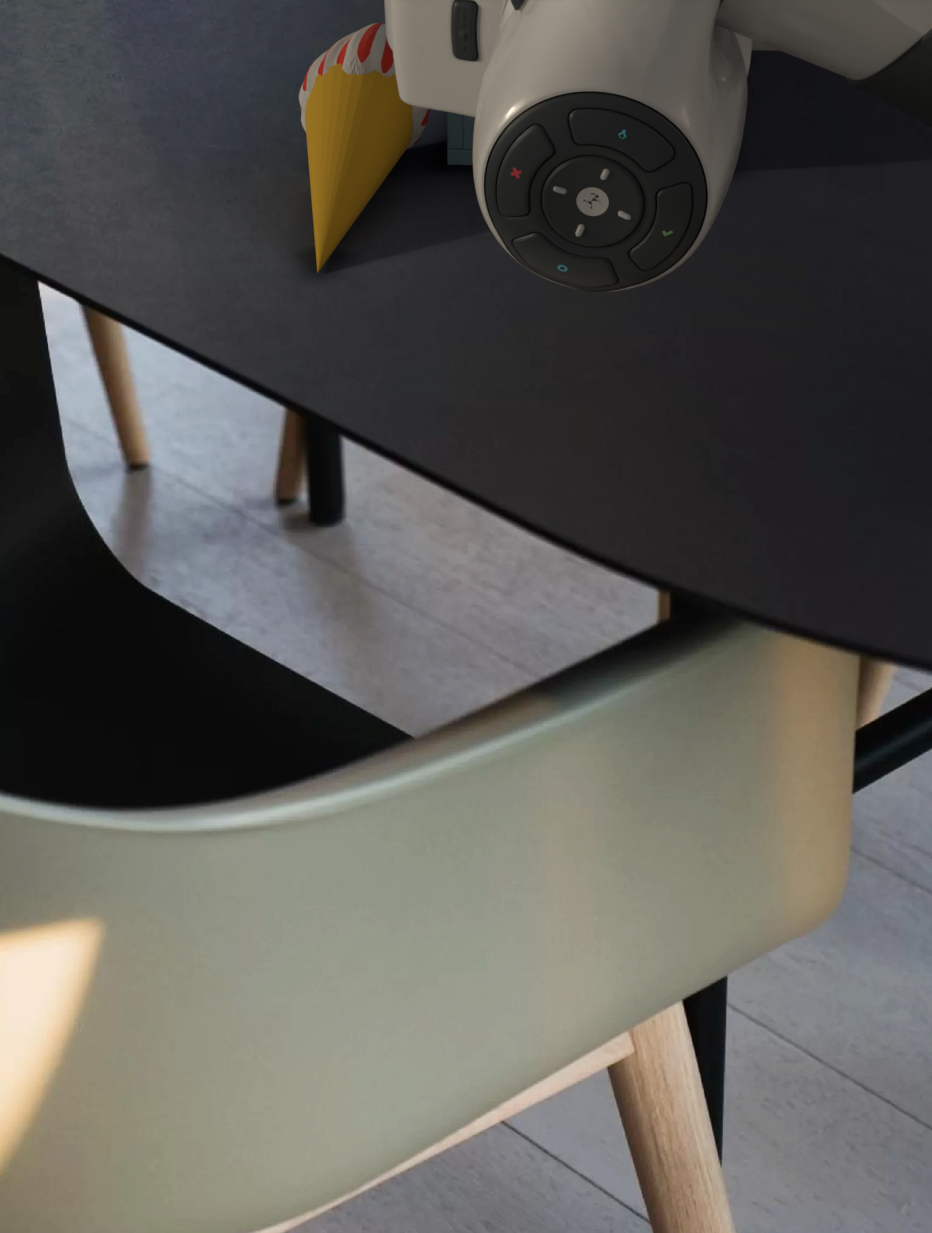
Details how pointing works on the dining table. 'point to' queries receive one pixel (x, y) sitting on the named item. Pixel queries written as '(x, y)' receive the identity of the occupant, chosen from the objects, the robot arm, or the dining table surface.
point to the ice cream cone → (353, 130)
